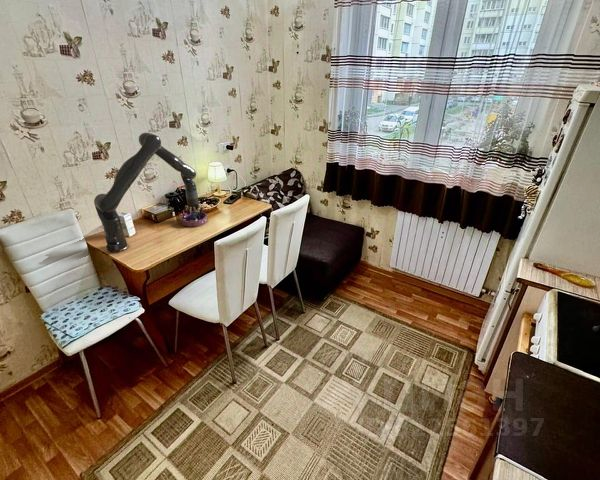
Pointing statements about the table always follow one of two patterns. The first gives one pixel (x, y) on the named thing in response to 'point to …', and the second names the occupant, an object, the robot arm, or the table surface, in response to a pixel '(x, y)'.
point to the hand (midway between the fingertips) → (195, 219)
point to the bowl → (187, 221)
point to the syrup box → (127, 224)
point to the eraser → (193, 217)
